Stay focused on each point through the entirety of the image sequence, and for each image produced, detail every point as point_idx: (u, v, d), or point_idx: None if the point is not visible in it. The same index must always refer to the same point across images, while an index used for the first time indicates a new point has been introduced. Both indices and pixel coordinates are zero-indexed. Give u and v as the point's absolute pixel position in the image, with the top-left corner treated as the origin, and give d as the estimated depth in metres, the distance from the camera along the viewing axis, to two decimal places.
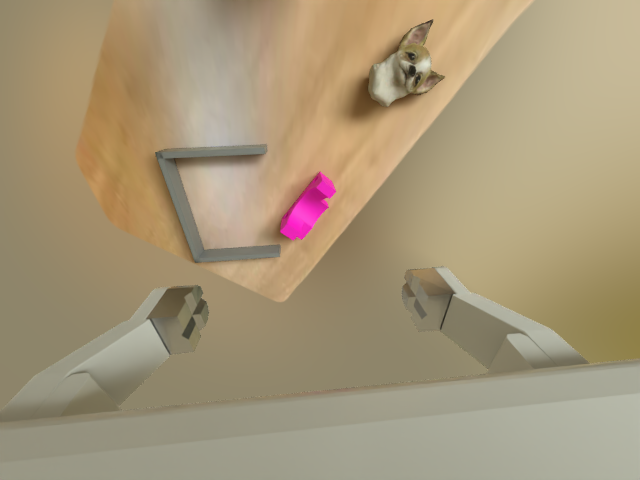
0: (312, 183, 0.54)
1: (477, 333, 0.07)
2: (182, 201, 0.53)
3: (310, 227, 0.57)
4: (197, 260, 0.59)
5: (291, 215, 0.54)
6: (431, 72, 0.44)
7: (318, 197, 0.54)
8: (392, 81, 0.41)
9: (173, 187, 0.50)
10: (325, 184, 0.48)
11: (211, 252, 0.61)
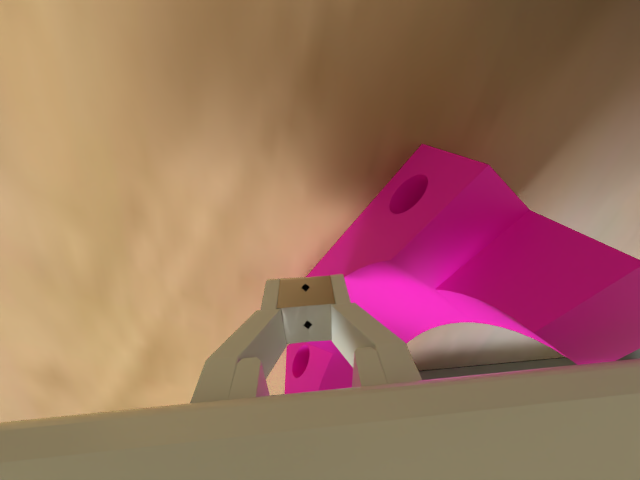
0: None
1: (351, 344, 0.07)
2: None
3: (400, 262, 0.08)
4: None
5: (492, 323, 0.10)
6: None
7: (343, 371, 0.13)
8: None
9: None
10: None
11: None
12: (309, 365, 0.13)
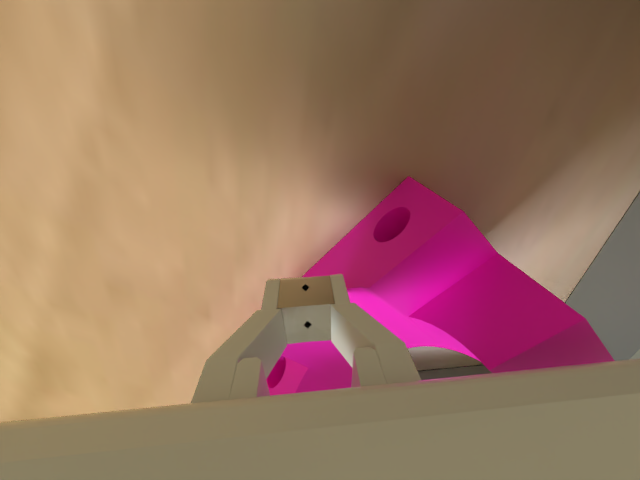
0: None
1: (350, 345, 0.07)
2: (635, 301, 0.13)
3: (378, 290, 0.09)
4: None
5: (458, 350, 0.11)
6: None
7: (316, 386, 0.13)
8: None
9: None
10: None
11: None
12: (284, 377, 0.14)
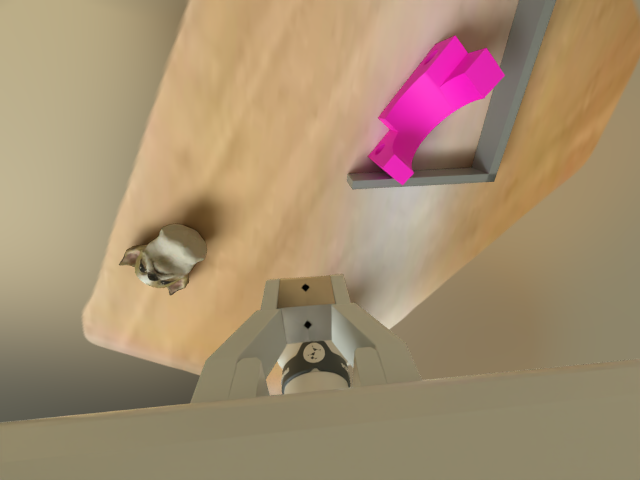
0: None
1: (351, 344, 0.07)
2: (505, 97, 0.31)
3: (429, 73, 0.27)
4: None
5: (459, 105, 0.29)
6: None
7: (401, 141, 0.31)
8: (170, 259, 0.34)
9: (503, 129, 0.31)
10: (398, 178, 0.30)
11: None
12: (386, 144, 0.32)
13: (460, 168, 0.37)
